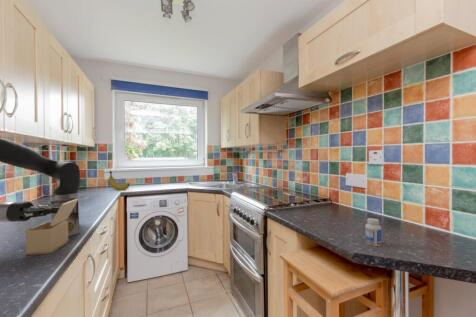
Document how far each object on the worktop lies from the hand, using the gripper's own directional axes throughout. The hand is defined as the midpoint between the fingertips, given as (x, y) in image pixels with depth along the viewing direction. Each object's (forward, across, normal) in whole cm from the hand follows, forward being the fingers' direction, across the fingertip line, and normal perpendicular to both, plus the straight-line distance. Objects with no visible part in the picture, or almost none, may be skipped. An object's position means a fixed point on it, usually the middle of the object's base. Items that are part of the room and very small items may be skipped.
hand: (63, 209), depth 87 cm
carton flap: (-2, 0, +5) cm, 5 cm away
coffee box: (-8, +14, +15) cm, 22 cm away
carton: (-5, 0, +15) cm, 16 cm away
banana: (-30, +146, +16) cm, 150 cm away
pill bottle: (+122, -21, +14) cm, 124 cm away
